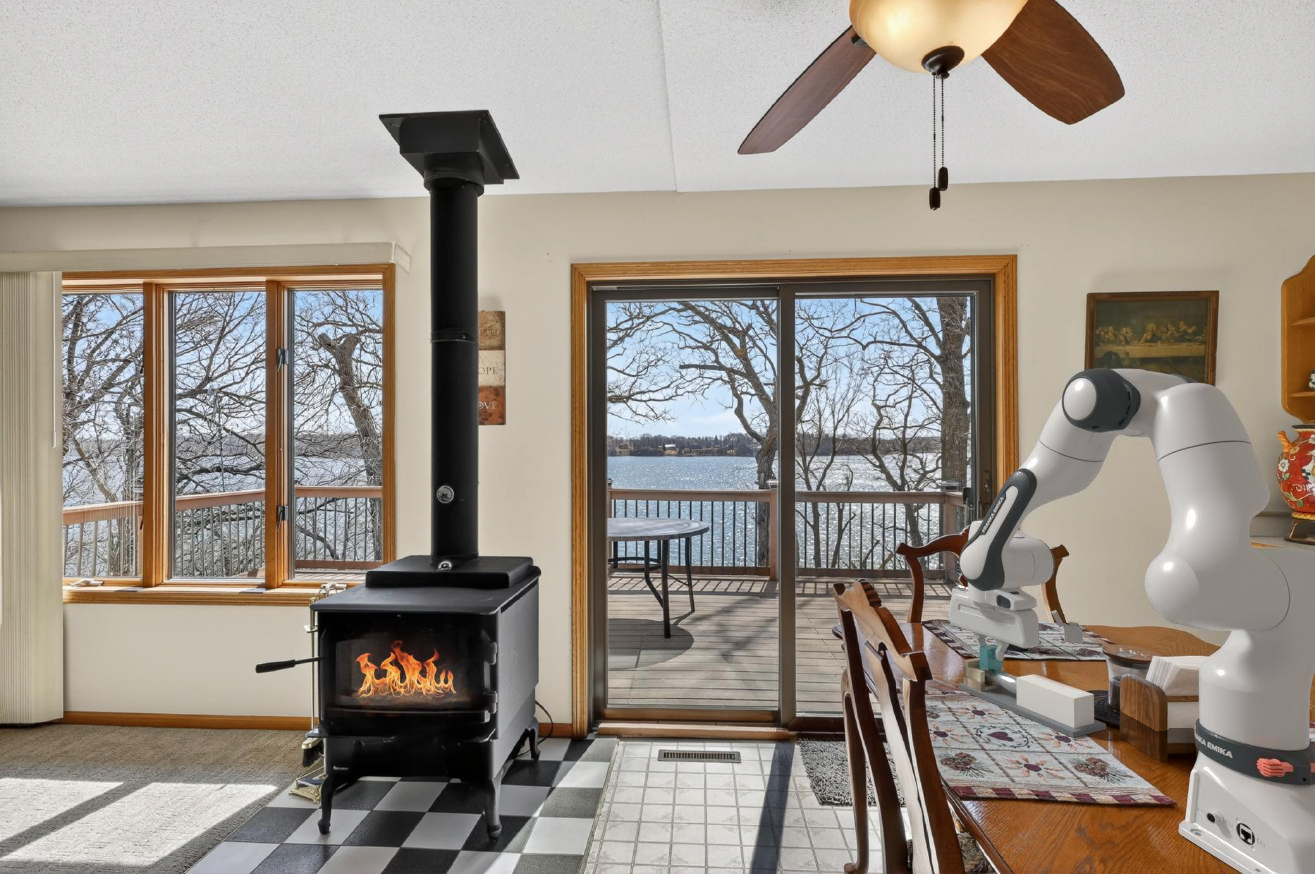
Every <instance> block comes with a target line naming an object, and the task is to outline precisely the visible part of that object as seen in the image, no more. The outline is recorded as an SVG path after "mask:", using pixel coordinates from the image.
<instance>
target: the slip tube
mask: <svg viewBox="0 0 1315 874" xmlns="http://www.w3.org/2000/svg"><path fill="white" fill-rule="evenodd" d="M997 647H998V645H997V644H996V643H993V644H987V645H986V646H980V647H979V646H978V652H979V651H980V654H979V658H980V665H979V666H978V668H977V669H979V670H982V671H984V672H985V682H986V683H989V684H991V685H994V686H997V687H999V688H1002V689H1004V690H1007V691H1009V692H1012V693H1014V694H1017V680H1016V677H1018V676H1017V675H1013V674H1012V673H1008V672H1003V671H1000V670H997V669H999V668H1004V665H1003V661H1004V659H1003V660H1002V661H998V660H995V659H993V658H992V651H994V650H996V649H997Z"/></svg>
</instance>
